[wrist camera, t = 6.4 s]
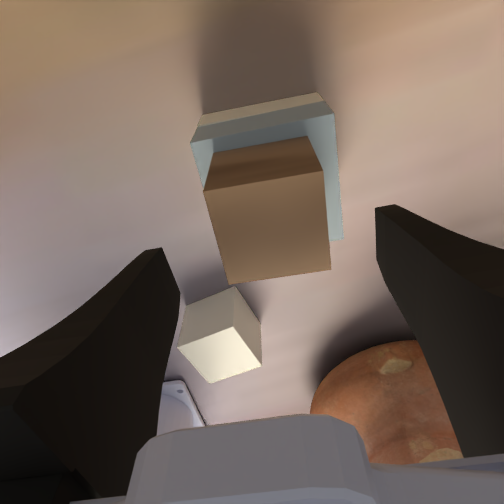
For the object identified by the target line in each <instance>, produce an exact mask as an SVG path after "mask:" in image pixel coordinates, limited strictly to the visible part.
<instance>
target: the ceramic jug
mask: <svg viewBox="0 0 504 504" xmlns="http://www.w3.org/2000/svg"><path fill="white" fill-rule="evenodd" d="M310 414H328V415H330V416H332V417H335V418H337V419H340V420H342V421H344V422H347V423H349V424H351V425H353V426H355V428H356V430H357V431H358V433H359V434H360V436H361V438H362V439H363V441H364V444H365V448H366V452H367V456H368V459H369V463H383V464H397V465H405V464H414V463H423V462H432V461H441V460H450V459H459V458H463V455H462V452H461V449H460V446H459V444H458V441H457V438H456V435H455V433H454V430H453V427H452V425H451V422H450V419H449V417H448V414H447V411H446V409H445V406H444V403H443V401H442V398H441V396H440V393H439V391H438V388H437V386H436V383H435V381H434V378H433V376H432V373H431V371H430V368H429V366H428V364H427V361H426V359H425V357H424V354H423V352H422V349H421V347H420V345H419V343H418V341H417V340H404V341H396V342H390V343H386V344H381V345H377V346H374V347H371V348H368V349H366V350H363V351H361V352H359V353H357V354H355V355H353V356H351V357H349V358H347V359H346V360H345V361H343V362H342V363H340V364H339V365H338V366H336V367H335V368H334V369H333V370H332V371H331V372H330V373H329V374H328V375H327V376H326V377H325V378H324V379H323V381H322V382H321V383H320V385H319V386H318V388H317V390H316V392H315V394H314V397H313V400H312V404H311V409H310Z"/></svg>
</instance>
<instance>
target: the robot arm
mask: <svg viewBox="0 0 504 504" xmlns="http://www.w3.org/2000/svg"><path fill="white" fill-rule="evenodd" d="M375 225H376V258H377V262H378V265H379V268H380V270H381V273H382V276H383V278H384V281H385V283H386V285H387V287H388V289H389V291H390V293H391V294H392V296H393V298H394V300H395V302H396V303H397V305H398V307H399V309H400V311H401V312H402V314H403V316H404V318H405V319H406V321H407V323H408V325H409V326H410V328H411V330H412V332H413V334H414V335H415V337H416V339H417V341H418V343H419V345H420V347H421V349H422V352H423V354H424V357H425V359H426V361H427V364H428V366H429V368H430V371H431V373H432V376H433V378H434V381H435V383H436V386H437V388H438V391H439V393H440V396H441V398H442V401H443V403H444V406H445V409H446V411H447V414H448V417H449V419H450V422H451V425H452V427H453V430H454V433H455V435H456V438H457V441H458V444H459V446H460V449H461V452H462V455H463V458H459V459H450V460H441V461H432V462H423V463H414V464H405V465H397V464H383V463H369V459H368V456H367V452H366V448H365V444H364V441H363V439H362V438H361V436H360V434H359V433H358V431H357V430H356V428H355V426H353V425H351V424H349V423H347V422H344V421H342V420H340V419H337V418H335V417H332V416H330V415H328V414H294V415H286V416H278V417H271V418H263V419H255V420H247V421H240V422H232V423H224V424H217V425H209V426H205V424H204V422H203V420H202V418H201V416H200V414H199V412H198V410H197V408H196V406H195V404H194V402H193V399H192V397H191V395H190V393H189V391H188V389H187V387H186V385H185V383H184V382H183V381H181V380H176V381H169V382H163V380H164V375H165V371H166V367H167V362H168V358H169V354H170V350H171V346H172V342H173V338H174V334H175V330H176V326H177V321H178V316H179V306H180V291H179V288H178V286H177V283H176V281H175V278H174V276H173V273H172V271H171V269H170V266H169V264H168V261H167V259H166V256H165V254H164V251H163V249H162V247H161V248H156V249H150V250H145V251H144V252H142V253H141V254H140V255H139V256H137V257H136V258H135V259H134V260H133V261H132V262H131V263H130V264H128V265H127V266H126V267H125V268H124V269H123V270H122V271H121V272H120V273H119V274H118V275H117V276H116V277H114V278H113V279H112V280H111V281H110V282H109V283H108V284H107V285H106V286H105V287H103V288H102V289H101V290H100V291H99V292H98V293H96V294H95V295H94V296H93V297H92V298H91V299H89V300H88V301H87V302H86V303H85V304H83V305H82V306H81V307H80V308H78V309H77V310H76V311H74V312H73V313H72V314H70V315H69V316H67V317H66V318H65V319H63V320H62V321H61V322H59V323H58V324H56V325H55V326H53V327H52V328H50V329H48V330H47V331H45V332H44V333H42V334H40V335H39V336H37V337H36V338H34V339H32V340H31V341H29V342H28V343H26V344H24V345H22V346H21V347H19V348H17V349H15V350H14V351H12V352H10V353H8V354H6V355H4V356H2V357H0V504H504V249H500V248H497V247H494V246H491V245H488V244H484V243H481V242H478V241H476V240H473V239H470V238H468V237H465V236H463V235H460V234H458V233H455V232H453V231H450V230H448V229H446V228H444V227H441V226H439V225H437V224H435V223H433V222H431V221H429V220H427V219H424V218H422V217H420V216H418V215H416V214H414V213H412V212H410V211H408V210H406V209H404V208H402V207H400V206H398V205H395V204H393V205H388V206H382V207H377V208H375Z"/></svg>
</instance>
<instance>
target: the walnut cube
mask: <svg viewBox="0 0 504 504" xmlns="http://www.w3.org/2000/svg"><path fill="white" fill-rule="evenodd" d="M203 193H204V197H205V201H206V204H207V208H208V211H209V215H210V219H211V222H212V226H213V230H214V233H215V237H216V240H217V244H218V248H219V251H220V255H221V258H222V262H223V266H224V269H225V273H226V277H227V280H228V284H229V285H230V284H237V283H244V282H251V281H257V280H264V279H271V278H278V277H284V276H291V275H298V274H305V273H312V272H318V271H325V270H331V259H330V246H329V234H328V221H327V209H326V197H325V184H324V172H323V169H322V167H321V164H320V162H319V160H318V158H317V156H316V153H315V151H314V149H313V147H312V145H311V142H310V140H309V138H308V136H303V137H297V138H292V139H286V140H281V141H275V142H270V143H264V144H259V145H253V146H248V147H242V148H237V149H232V150H226V151H221V152H215V153H213V156H212V159H211V163H210V167H209V171H208V175H207V178H206V182H205V186H204V190H203Z"/></svg>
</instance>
